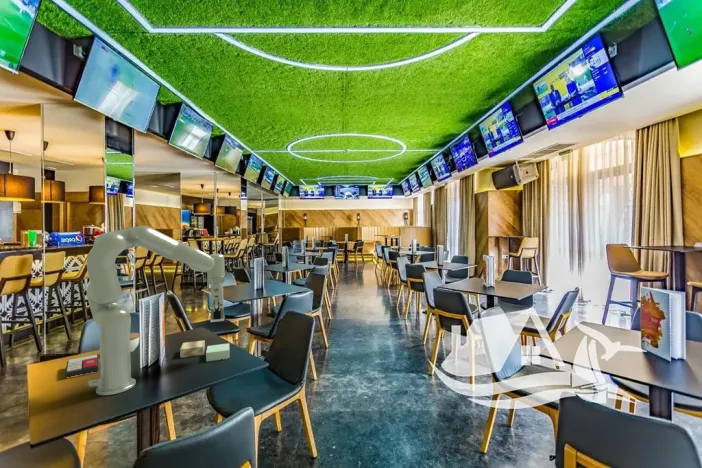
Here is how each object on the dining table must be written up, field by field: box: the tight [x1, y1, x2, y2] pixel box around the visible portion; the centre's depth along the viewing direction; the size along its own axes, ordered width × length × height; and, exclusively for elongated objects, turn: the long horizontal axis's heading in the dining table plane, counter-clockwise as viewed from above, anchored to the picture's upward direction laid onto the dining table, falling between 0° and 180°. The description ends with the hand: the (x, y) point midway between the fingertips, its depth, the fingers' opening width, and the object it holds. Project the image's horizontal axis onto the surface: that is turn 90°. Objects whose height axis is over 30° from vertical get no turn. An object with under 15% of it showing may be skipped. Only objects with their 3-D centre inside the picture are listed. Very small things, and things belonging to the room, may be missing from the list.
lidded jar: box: [130, 332, 140, 353], centre depth 170 cm, size 11×11×9 cm
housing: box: [209, 302, 225, 323], centre depth 160 cm, size 6×6×8 cm
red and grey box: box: [64, 354, 100, 378], centre depth 147 cm, size 11×4×15 cm
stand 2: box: [205, 342, 230, 363], centre depth 160 cm, size 10×10×4 cm
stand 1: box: [179, 339, 206, 359], centre depth 166 cm, size 10×10×4 cm
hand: (217, 317), depth 160 cm, fingers closed on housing, 5 cm apart
